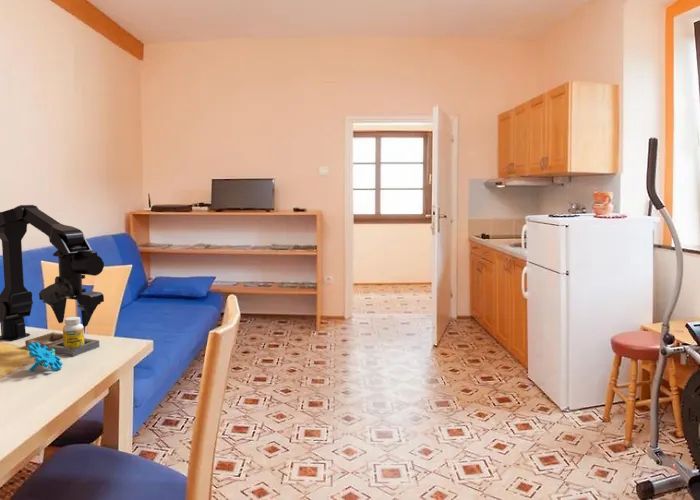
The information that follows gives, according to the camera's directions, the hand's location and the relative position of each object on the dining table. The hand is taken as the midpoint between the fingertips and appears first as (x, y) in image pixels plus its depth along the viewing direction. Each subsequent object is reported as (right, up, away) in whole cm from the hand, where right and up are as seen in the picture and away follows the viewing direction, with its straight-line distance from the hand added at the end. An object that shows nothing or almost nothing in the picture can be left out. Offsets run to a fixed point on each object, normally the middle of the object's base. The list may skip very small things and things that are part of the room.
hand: (72, 324), depth 145 cm
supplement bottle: (0, -8, +1) cm, 8 cm away
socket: (0, -8, +1) cm, 8 cm away
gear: (+1, -10, -14) cm, 18 cm away
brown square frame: (-9, -7, +5) cm, 13 cm away
